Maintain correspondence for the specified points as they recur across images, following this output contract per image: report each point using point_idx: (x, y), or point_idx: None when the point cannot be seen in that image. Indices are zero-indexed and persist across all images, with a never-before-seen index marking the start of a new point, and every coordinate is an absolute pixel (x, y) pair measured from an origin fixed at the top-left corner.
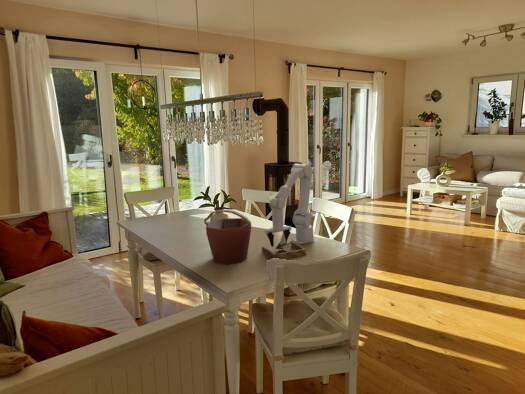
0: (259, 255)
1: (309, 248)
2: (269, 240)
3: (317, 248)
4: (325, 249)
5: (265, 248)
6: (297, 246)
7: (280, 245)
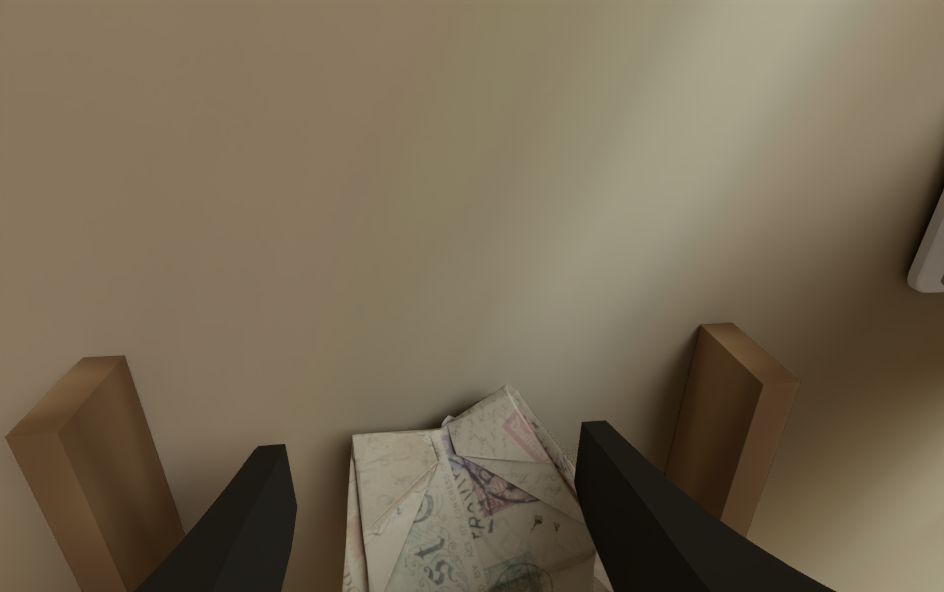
0: (10, 487)
1: (846, 483)
2: (180, 547)
3: (912, 514)
4: (939, 564)
5: (86, 559)
6: None
7: (427, 572)
